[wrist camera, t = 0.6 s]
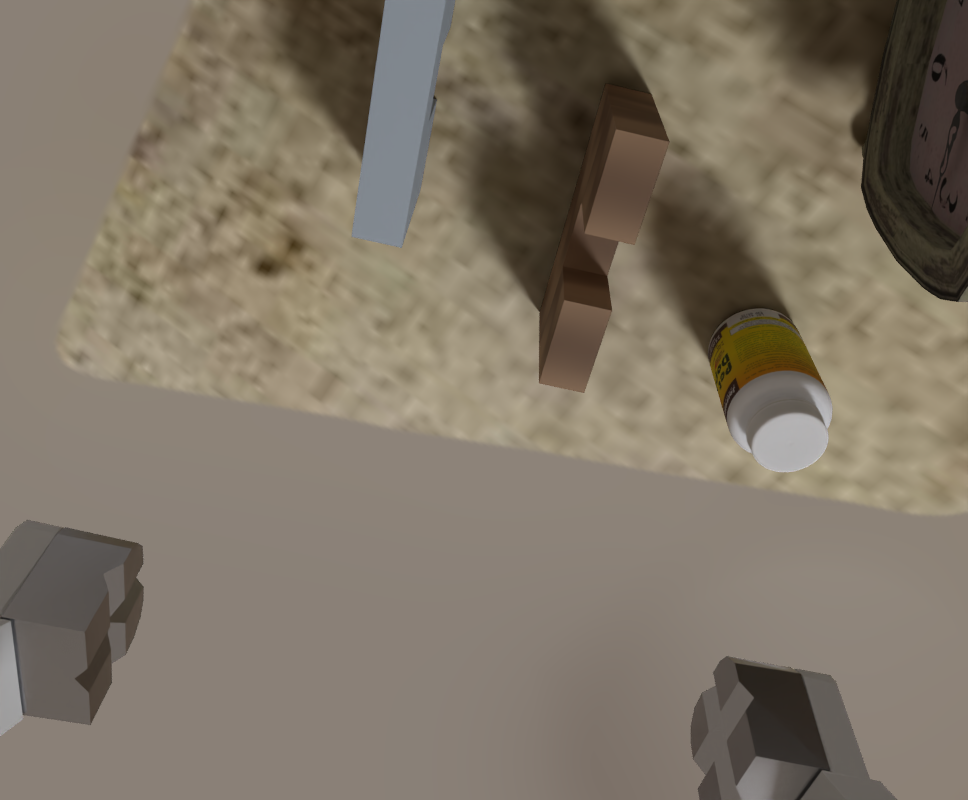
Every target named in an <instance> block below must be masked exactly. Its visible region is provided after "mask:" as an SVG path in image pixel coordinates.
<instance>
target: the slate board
mask: <svg viewBox="0 0 968 800" xmlns="http://www.w3.org/2000/svg"><path fill="white" fill-rule="evenodd" d="M454 4H455V0H385V5H384V12H383V19H382V26H381V33H380V40H379V47H378V54H377V61H376V68H375V76H374V83H373V90H372V97H371V104H370V111H369V118H368V125H367V132H366V139H365V146H364V153H363V160H362V167H361V174H360V181H359V188H358V195H357V202H356V209H355V216H354V223H353V230H352V237H355V238H360V239H364V240H369V241H373V242H378V243H382V244H387V245H391V246H396V247H400V248H402V245H403V242H404V239H405V236H406V233H407V230H408V227H409V224H410V220H411V217H412V214H413V211H414V208H415V205H416V202H417V199H418V196H419V193H420V189H421V184H422V178H423V173H424V168H425V162H426V157H427V151H428V146H429V140H430V135H431V129H432V124H433V119H434V113H435V108H436V102H437V99H433V97H434V91H435V86H436V80H437V75H438V69H439V64H440V58H441V52H442V47H443V44H444V41H445V39H446V36H447V34H448V32H449V29H450V26H451V21H452V15H453V10H454Z"/></svg>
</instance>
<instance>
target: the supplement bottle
mask: <svg viewBox="0 0 968 800" xmlns="http://www.w3.org/2000/svg"><path fill="white" fill-rule="evenodd" d="M708 357H709V362H710V366H711V370H712V373H713V377H714V380H715V384H716V387H717V391H718V394H719V397H720V401H721V404H722V408H723V411H724V415H725V418H726V422H727V425H728V428H729V431H730V433H731V435H732V437H733V439H734V440H735V441H736V442H737V444H738V445H739V446H740V447H742V448H743V449H744V450H746V451H748V452H750V453H752V454H753V456H754V458H755V459H756V461H757V462H758V463H759V464H760V465H762V466H763V467H765V468H767V469H769V470H772V471H777V472H793V471H797V470H800V469H803V468H805V467H808V466H809V465H811V464H813V463H814V462H815V461H817V460H818V459H819V458H820V457H821V455H822V454H823V452H824V451H825V449H826V447H827V444H828V431H827V428H828V427H829V424H830V421H831V418H832V402H831V399H830V396H829V393H828V391H827V389H826V387H825V385H824V383H823V381H822V379H821V377H820V375H819V373H818V371H817V369H816V367H815V365H814V362H813V360H812V358H811V356H810V354H809V352H808V350H807V348H806V346H805V344H804V342H803V340H802V337H801V336H800V333H799V331H798V330H797V328H796V326H795V325H794V324H793V322H792V321H791V320H790V319H789V318H787V317H786V316H785V315H783V314H781V313H779V312H777V311H774V310H770V309H763V308H757V309H749V310H745V311H742V312H739V313H736V314H734V315H733V316H731V317H729V318H728V319H726V320H725V321H724V322H723V323H722V324H721V325H720V326H719V327H718V328H717V329H716V331H715V332H714V334H713V336H712V338H711V340H710V343H709V349H708Z"/></svg>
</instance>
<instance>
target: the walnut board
mask: <svg viewBox="0 0 968 800" xmlns="http://www.w3.org/2000/svg"><path fill="white" fill-rule="evenodd" d="M668 145H669V139H668V137H667V134H666V131H665V129H664V126H663V123H662V121H661V118H660V115H659V113H658V110H657V108H656V105H655V102H654V100H653V97H652V94H648V93H644V92H640V91H636V90H632V89H628V88H623V87H619V86H615V85H611V84H607V83H606V84H605V87H604V91H603V94H602V98H601V101H600V105H599V108H598V111H597V115H596V118H595V122H594V125H593V129H592V132H591V136H590V139H589V143H588V146H587V150H586V153H585V157H584V160H583V164H582V167H581V171H580V174H579V177H578V181H577V184H576V188H575V191H574V195H573V198H572V202H571V205H570V209H569V212H568V216H567V219H566V223H565V226H564V230H563V233H562V236H561V240H560V243H559V247H558V250H557V254H556V257H555V261H554V264H553V268H552V271H551V275H550V278H549V282H548V285H547V289H546V292H545V295H544V299H543V302H542V306H541V309H540V321H539V383H540V384H545V385H550V386H554V387H559V388H564V389H568V390H573V391H577V392H582V393H584V391H585V389H586V386H587V383H588V380H589V377H590V374H591V371H592V368H593V365H594V362H595V359H596V356H597V353H598V350H599V347H600V345H601V342H602V339H603V336H604V333H605V330H606V327H607V324H608V321H609V318H610V315H611V312H612V307H611V300H610V292H609V285H608V278H607V275H608V272H609V269H610V266H611V263H612V260H613V257H614V254H615V251H616V248H617V245H618V242H619V241H620V242H624V243H628V244H633V245H635V242H636V239H637V236H638V233H639V230H640V227H641V224H642V221H643V218H644V215H645V212H646V210H647V207H648V204H649V201H650V198H651V195H652V192H653V189H654V186H655V183H656V180H657V177H658V174H659V171H660V168H661V165H662V163H663V160H664V157H665V154H666V151H667V148H668Z"/></svg>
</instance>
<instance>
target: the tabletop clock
mask: <svg viewBox="0 0 968 800" xmlns="http://www.w3.org/2000/svg"><path fill="white" fill-rule="evenodd" d="M862 156H863V158H864V159H863V171H862V183H861V189H862V193H863V196H864V200H865V204H866V208H867V210H868V213H869V215H870V217H871V219H872V221H873V224H874V226H875V228H876V229H877V231H878V233H879V234H880V236H881V237H882V239H883V240H884V242H885V244H886V245H887V247H888V248H889V250H890V251H891V253H892V255H893V256H894V258H895V259H896V261H897V262H898V263H899V264H900V265H901V266H902V267H903V268H904V269H905V270H906V271H907V272H908V273H909V274H910V275H911V276H912V277H913V278H914V279H915V280H916V281H917V282H918V283H919V284H920V285H921V286H922V287H923V288H924V289H926V290H927V291H928V292H930V293H931V294H933V295H935V296H936V297H938V298H940V299H943V300H949V301H956V302H968V0H897V2H896V6H895V10H894V14H893V18H892V22H891V26H890V30H889V34H888V38H887V42H886V45H885V49H884V53H883V58H882V63H881V68H880V73H879V78H878V83H877V88H876V93H875V98H874V103H873V108H872V113H871V118H870V123H869V128H868V134H867V139H866V141H865V143H864V145H863V147H862Z"/></svg>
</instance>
